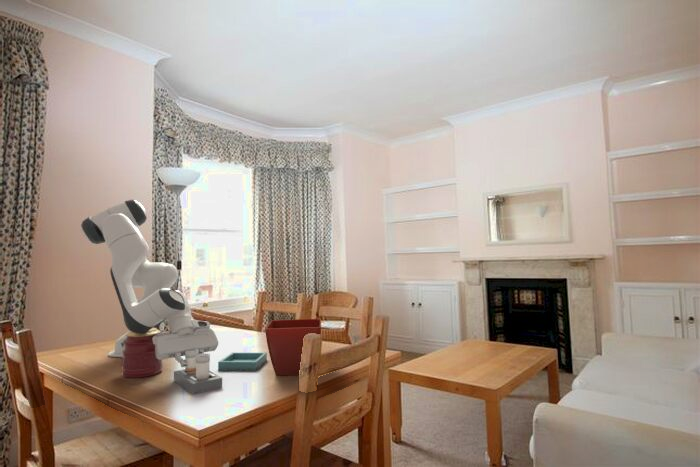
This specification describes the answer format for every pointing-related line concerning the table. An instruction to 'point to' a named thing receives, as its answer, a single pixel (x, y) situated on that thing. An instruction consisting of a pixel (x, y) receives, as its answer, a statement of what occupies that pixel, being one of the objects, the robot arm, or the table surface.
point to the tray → (242, 361)
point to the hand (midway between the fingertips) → (192, 364)
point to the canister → (140, 355)
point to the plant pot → (288, 343)
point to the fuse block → (194, 385)
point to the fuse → (202, 366)
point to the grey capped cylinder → (191, 360)
